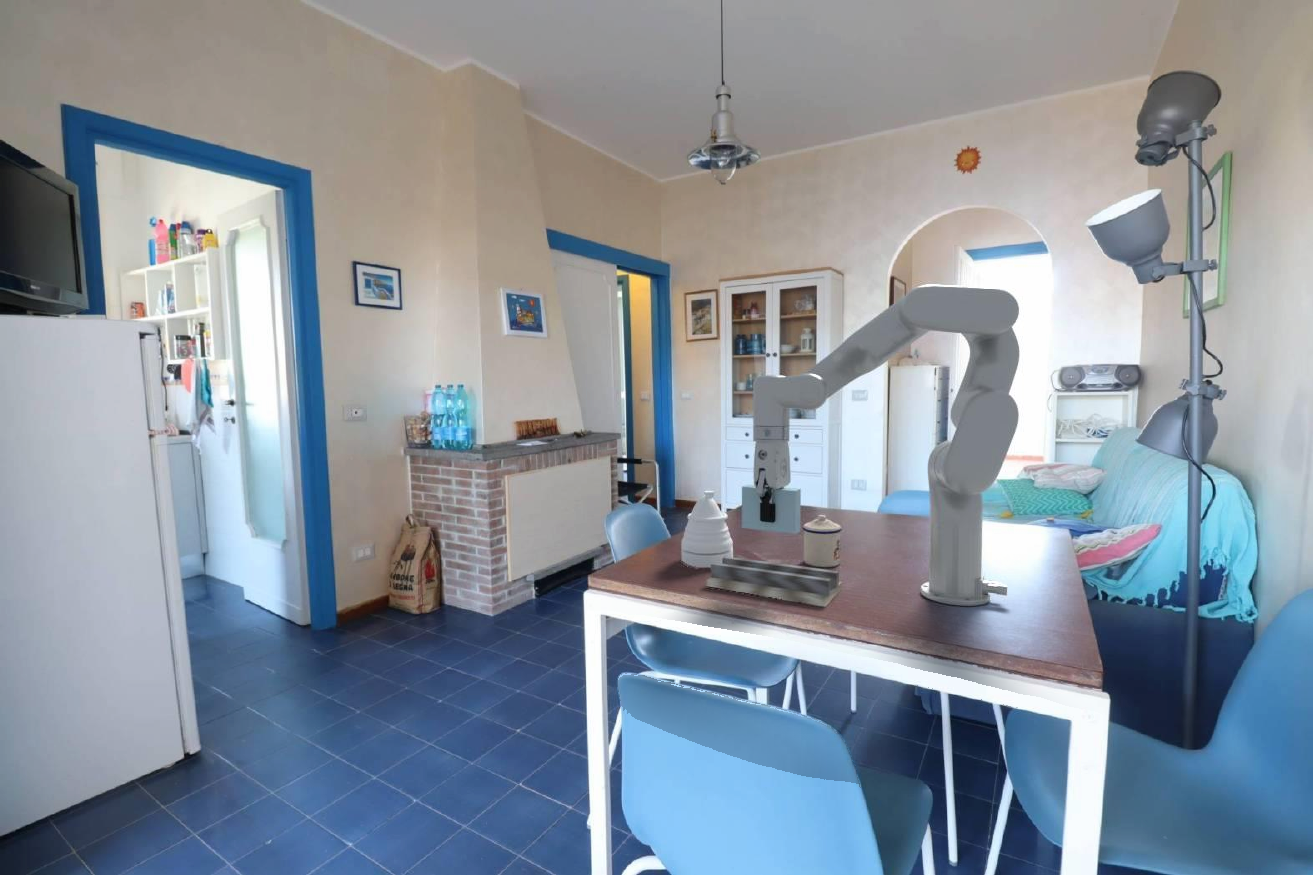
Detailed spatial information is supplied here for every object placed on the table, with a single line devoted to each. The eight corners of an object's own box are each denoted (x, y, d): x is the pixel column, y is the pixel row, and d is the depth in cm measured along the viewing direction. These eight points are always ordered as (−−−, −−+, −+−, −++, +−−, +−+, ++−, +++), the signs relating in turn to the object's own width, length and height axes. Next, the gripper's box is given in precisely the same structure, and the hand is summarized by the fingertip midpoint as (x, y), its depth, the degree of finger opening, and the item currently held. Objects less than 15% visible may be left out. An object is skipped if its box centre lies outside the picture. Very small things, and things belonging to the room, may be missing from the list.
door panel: (800, 531, 130) (800, 488, 129) (795, 534, 127) (795, 491, 126) (747, 525, 136) (747, 484, 135) (741, 527, 133) (741, 486, 133)
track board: (841, 589, 131) (841, 568, 130) (825, 606, 121) (825, 584, 120) (729, 572, 144) (729, 553, 144) (706, 587, 134) (706, 566, 134)
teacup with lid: (843, 568, 145) (843, 519, 144) (803, 567, 147) (803, 519, 146) (839, 554, 157) (838, 509, 156) (802, 553, 159) (802, 509, 158)
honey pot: (742, 564, 151) (741, 491, 149) (694, 571, 146) (693, 496, 145) (718, 552, 163) (717, 484, 161) (673, 558, 158) (671, 488, 156)
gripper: (774, 437, 121) (773, 529, 123) (801, 432, 135) (800, 514, 136) (738, 436, 125) (738, 525, 126) (768, 431, 139) (768, 511, 140)
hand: (770, 519), depth 131 cm, fingers closed on door panel, 3 cm apart
